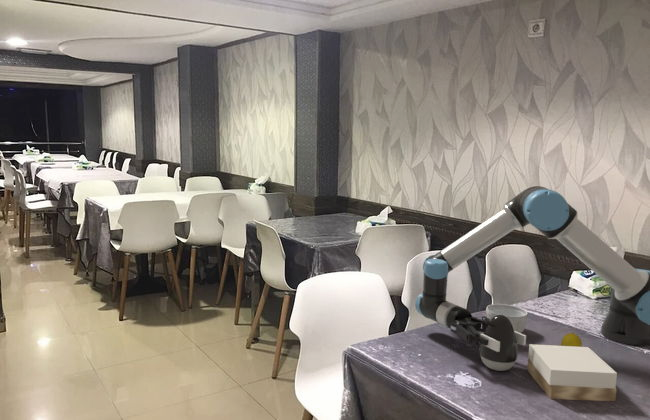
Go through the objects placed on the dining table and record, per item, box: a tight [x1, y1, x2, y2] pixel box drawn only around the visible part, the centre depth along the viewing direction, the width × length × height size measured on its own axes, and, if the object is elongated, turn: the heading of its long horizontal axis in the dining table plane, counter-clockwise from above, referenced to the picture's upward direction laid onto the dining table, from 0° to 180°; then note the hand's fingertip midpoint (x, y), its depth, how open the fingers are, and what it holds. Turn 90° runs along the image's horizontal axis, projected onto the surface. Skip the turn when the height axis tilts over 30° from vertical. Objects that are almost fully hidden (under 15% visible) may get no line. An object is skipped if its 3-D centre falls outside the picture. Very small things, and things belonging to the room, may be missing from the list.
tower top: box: [527, 343, 618, 389], centre depth 137 cm, size 16×16×4 cm
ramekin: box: [485, 303, 529, 334], centre depth 176 cm, size 13×13×7 cm
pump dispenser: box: [478, 315, 519, 372], centre depth 146 cm, size 10×10×15 cm
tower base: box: [526, 357, 617, 402], centre depth 138 cm, size 16×16×4 cm
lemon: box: [560, 332, 583, 347], centre depth 154 cm, size 6×6×8 cm
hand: (512, 343), depth 142 cm, fingers closed on pump dispenser, 9 cm apart
